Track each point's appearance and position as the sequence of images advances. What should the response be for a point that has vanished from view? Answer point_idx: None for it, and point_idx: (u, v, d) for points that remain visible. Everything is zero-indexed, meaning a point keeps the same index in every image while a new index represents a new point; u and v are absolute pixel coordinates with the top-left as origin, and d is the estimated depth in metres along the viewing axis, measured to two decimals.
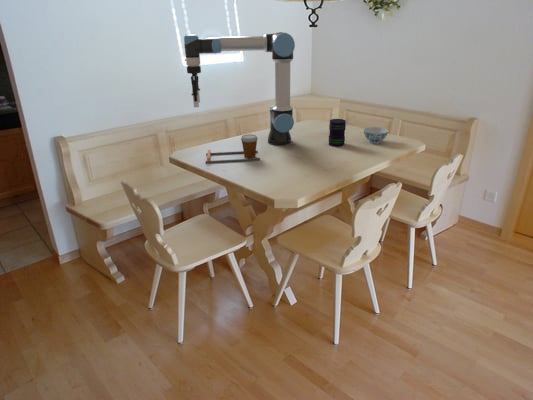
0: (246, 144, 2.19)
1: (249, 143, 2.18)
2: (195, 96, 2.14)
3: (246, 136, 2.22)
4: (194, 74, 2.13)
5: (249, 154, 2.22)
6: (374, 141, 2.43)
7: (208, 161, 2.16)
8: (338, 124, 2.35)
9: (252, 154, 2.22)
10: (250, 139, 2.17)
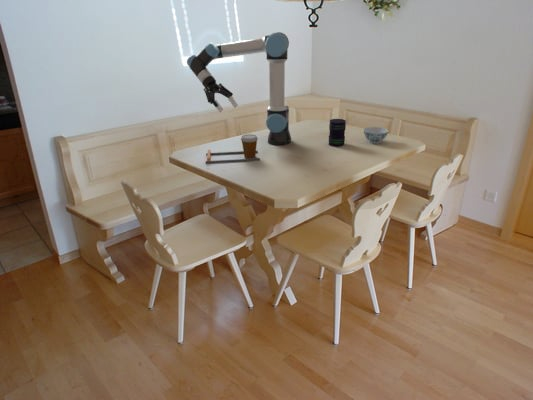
0: (246, 144, 2.19)
1: (249, 143, 2.18)
2: (213, 102, 2.18)
3: (246, 136, 2.22)
4: (207, 85, 2.22)
5: (249, 154, 2.22)
6: (374, 141, 2.43)
7: (208, 161, 2.16)
8: (338, 124, 2.35)
9: (252, 154, 2.22)
10: (250, 139, 2.17)
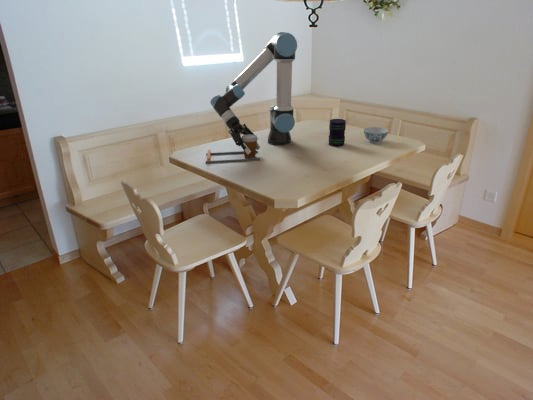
0: (247, 144, 2.19)
1: (249, 142, 2.18)
2: (241, 145, 2.18)
3: (246, 136, 2.22)
4: (231, 126, 2.21)
5: (249, 154, 2.22)
6: (374, 141, 2.43)
7: (208, 161, 2.16)
8: (338, 124, 2.35)
9: (252, 154, 2.22)
10: (250, 139, 2.17)
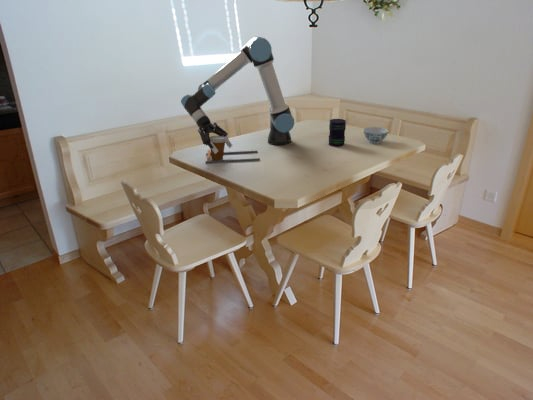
0: (214, 145, 2.16)
1: (217, 143, 2.16)
2: (208, 144, 2.15)
3: (214, 137, 2.20)
4: (201, 126, 2.19)
5: (216, 155, 2.19)
6: (374, 141, 2.43)
7: (208, 161, 2.16)
8: (338, 124, 2.35)
9: (219, 155, 2.19)
10: (218, 140, 2.15)
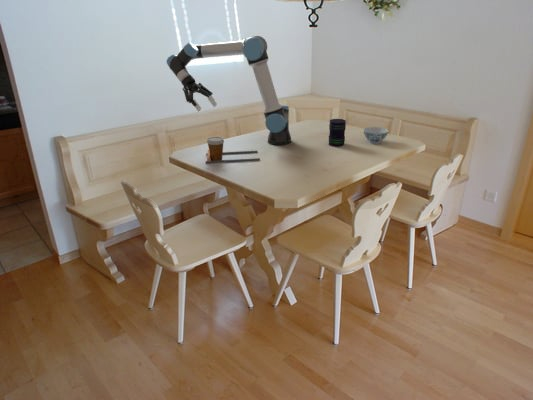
0: (212, 147, 2.15)
1: (215, 145, 2.14)
2: (191, 101, 2.21)
3: (212, 139, 2.18)
4: (186, 85, 2.25)
5: (215, 157, 2.18)
6: (374, 141, 2.43)
7: (208, 161, 2.16)
8: (338, 124, 2.35)
9: (218, 157, 2.18)
10: (216, 142, 2.13)
